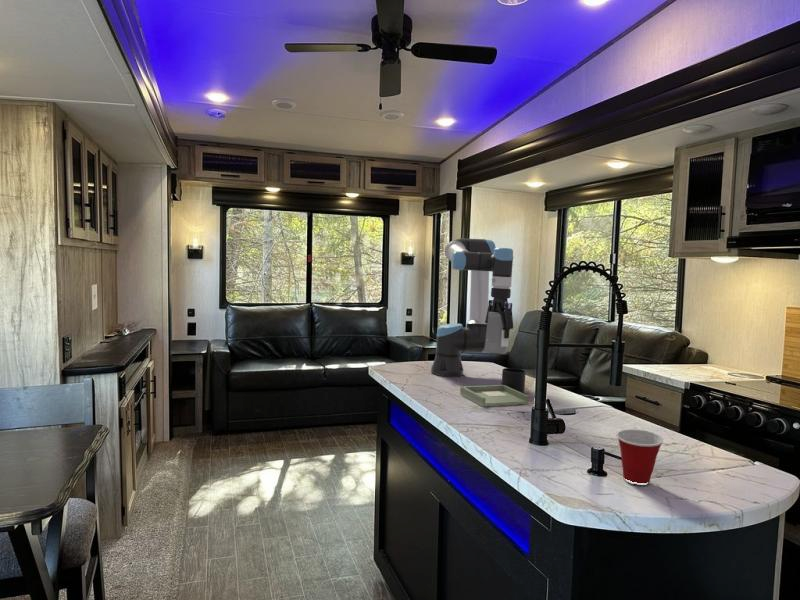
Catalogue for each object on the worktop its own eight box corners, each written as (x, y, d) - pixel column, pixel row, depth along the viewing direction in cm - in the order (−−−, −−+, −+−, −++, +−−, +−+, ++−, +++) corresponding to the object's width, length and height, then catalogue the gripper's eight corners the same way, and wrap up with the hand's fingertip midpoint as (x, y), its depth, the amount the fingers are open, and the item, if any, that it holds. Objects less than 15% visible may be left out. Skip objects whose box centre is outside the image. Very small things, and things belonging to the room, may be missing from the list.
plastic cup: (603, 476, 137) (606, 430, 136) (632, 470, 142) (636, 426, 141) (638, 493, 127) (643, 444, 126) (669, 487, 132) (673, 440, 131)
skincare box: (484, 352, 209) (486, 312, 208) (488, 349, 216) (490, 310, 215) (505, 354, 206) (508, 313, 205) (509, 352, 213) (511, 312, 212)
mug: (514, 387, 232) (516, 366, 231) (528, 394, 220) (529, 372, 219) (494, 387, 229) (496, 366, 228) (507, 394, 218) (509, 372, 217)
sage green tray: (460, 394, 214) (460, 386, 214) (503, 392, 221) (503, 384, 221) (482, 406, 197) (482, 398, 197) (528, 404, 204) (529, 396, 204)
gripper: (478, 285, 218) (475, 339, 220) (508, 289, 197) (504, 349, 199) (494, 286, 221) (491, 339, 223) (525, 290, 200) (521, 349, 202)
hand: (497, 344), depth 211 cm, fingers closed on skincare box, 10 cm apart
